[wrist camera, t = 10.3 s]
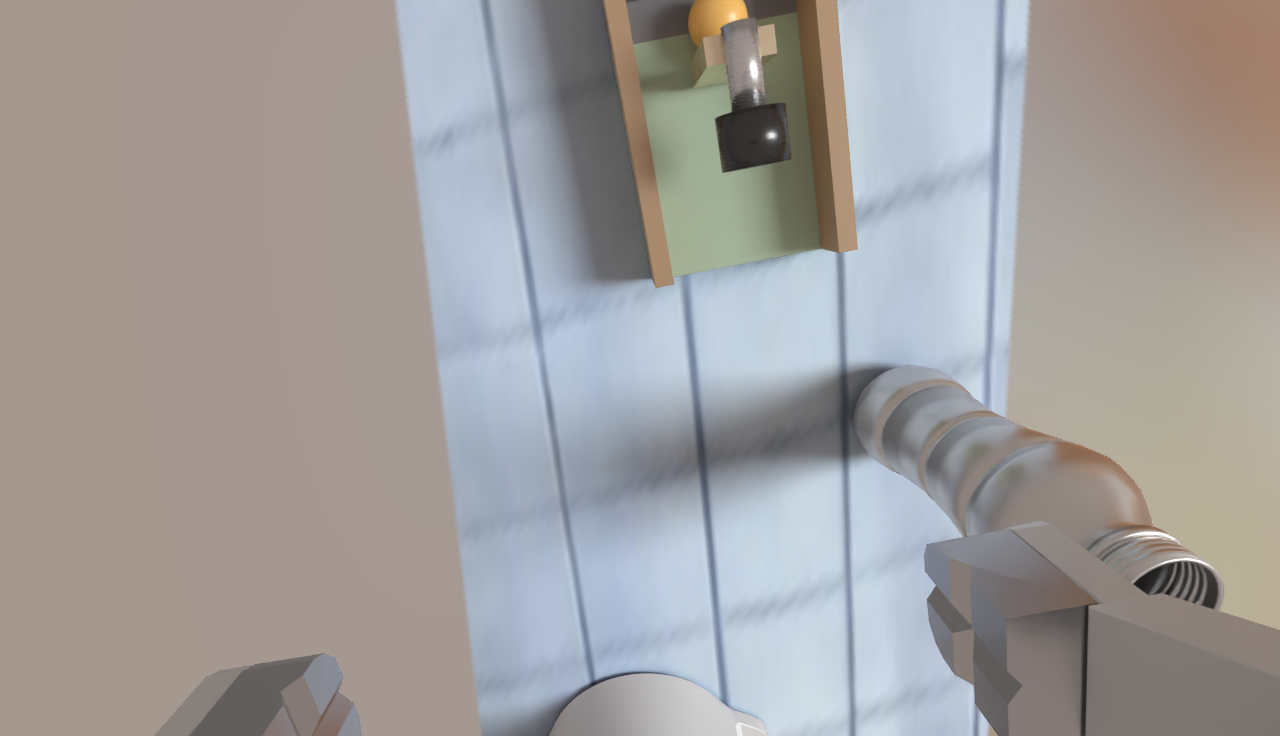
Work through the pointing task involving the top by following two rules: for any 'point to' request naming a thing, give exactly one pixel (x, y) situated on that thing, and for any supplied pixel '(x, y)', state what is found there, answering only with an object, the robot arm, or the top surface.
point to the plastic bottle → (1021, 480)
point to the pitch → (688, 148)
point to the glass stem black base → (743, 95)
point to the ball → (713, 17)
